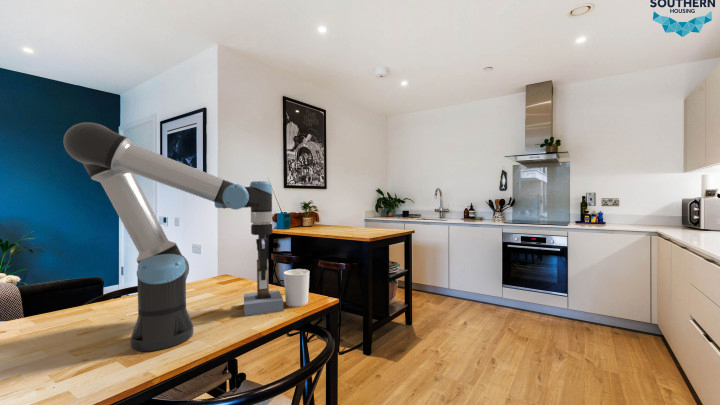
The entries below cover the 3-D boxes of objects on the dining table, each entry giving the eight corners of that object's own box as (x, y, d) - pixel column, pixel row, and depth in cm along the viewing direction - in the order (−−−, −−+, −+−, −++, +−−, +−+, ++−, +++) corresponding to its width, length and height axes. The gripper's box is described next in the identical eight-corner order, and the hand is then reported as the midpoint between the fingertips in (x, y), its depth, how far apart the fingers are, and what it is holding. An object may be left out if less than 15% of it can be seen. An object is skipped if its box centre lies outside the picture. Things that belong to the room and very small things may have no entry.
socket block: (244, 316, 106) (244, 304, 106) (243, 304, 118) (243, 293, 118) (283, 310, 111) (283, 299, 111) (278, 299, 123) (278, 289, 123)
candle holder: (307, 307, 114) (307, 275, 114) (280, 307, 114) (280, 275, 114) (312, 298, 124) (311, 269, 124) (287, 299, 124) (287, 269, 124)
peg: (269, 298, 113) (268, 260, 113) (257, 299, 112) (257, 261, 112) (268, 295, 117) (267, 258, 117) (257, 296, 116) (256, 259, 116)
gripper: (274, 224, 108) (275, 292, 108) (270, 221, 124) (271, 280, 124) (251, 225, 105) (253, 294, 105) (250, 222, 121) (251, 282, 121)
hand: (262, 286), depth 114 cm, fingers closed on peg, 4 cm apart
